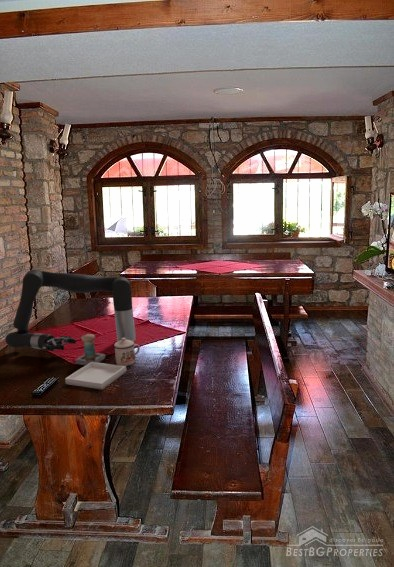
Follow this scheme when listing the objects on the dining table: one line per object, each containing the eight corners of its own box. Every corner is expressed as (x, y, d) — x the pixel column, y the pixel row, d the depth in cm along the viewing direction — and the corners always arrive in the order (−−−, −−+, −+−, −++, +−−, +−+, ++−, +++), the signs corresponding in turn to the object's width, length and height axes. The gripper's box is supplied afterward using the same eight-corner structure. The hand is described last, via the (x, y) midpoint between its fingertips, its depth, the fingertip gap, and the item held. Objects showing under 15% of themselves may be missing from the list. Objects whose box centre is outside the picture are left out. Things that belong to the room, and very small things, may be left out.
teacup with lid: (121, 368, 199) (118, 343, 196) (112, 362, 206) (109, 338, 204) (145, 360, 206) (143, 336, 203) (135, 355, 213) (133, 332, 210)
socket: (88, 356, 215) (88, 352, 215) (105, 358, 212) (104, 354, 211) (75, 363, 207) (75, 359, 206) (93, 366, 203) (92, 361, 203)
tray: (92, 367, 202) (91, 361, 201) (126, 371, 195) (126, 366, 194) (65, 384, 186) (65, 378, 185) (102, 389, 179) (101, 383, 178)
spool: (89, 357, 213) (86, 333, 210) (99, 359, 211) (97, 334, 208) (81, 362, 208) (78, 337, 205) (92, 364, 205) (89, 339, 203)
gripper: (31, 339, 211) (58, 342, 205) (51, 329, 224) (78, 332, 218) (33, 354, 213) (60, 357, 206) (53, 343, 226) (80, 346, 219)
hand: (69, 344), depth 212 cm, fingers open, 8 cm apart
